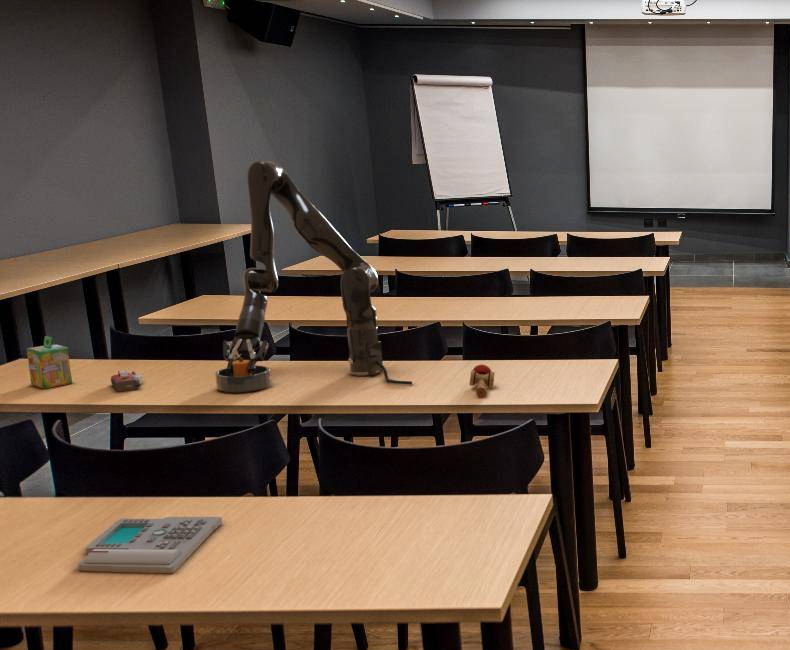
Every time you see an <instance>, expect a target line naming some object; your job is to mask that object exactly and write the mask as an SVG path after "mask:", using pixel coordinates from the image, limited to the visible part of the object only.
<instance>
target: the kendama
mask: <svg viewBox="0 0 790 650" xmlns="http://www.w3.org/2000/svg"><path fill="white" fill-rule="evenodd" d="M495 374H496V373H495V371H492V369H491V368H490V367H489V366H488V365H486V364H478V365H475V366H474V368H473V369H472V370H471V371H470V377H469V386H471V387H474V386H475V385H477V386H476V390H475V394H476V396H477V397H478V398H485V397H486V396H487V391H488V390H487V388H488V389H493V388H494V384H495V383H494V382H495Z"/></svg>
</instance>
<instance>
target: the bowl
mask: <svg viewBox="0 0 790 650" xmlns="http://www.w3.org/2000/svg"><path fill="white" fill-rule="evenodd" d="M214 377H215V385H216V386H215V387H216V389H217V390H218V391H221V392H225V393H228V394H229V393H230V394H242V393H243V394H245V393H251V392H256V391H260V390H263V389H265V388H268V387H269V386H271V385H272V377H271V369H270V367H269V366H266V365H260V364H259V365H257V364H256V365H255V369H254V371H253V372H252V375H249V376H239V377H234V375H233V373H230V372H229V371H228V369H227V367H225V368H222V369H219V370H217V371H216V372H215V373H214Z"/></svg>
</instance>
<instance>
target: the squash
mask: <svg viewBox="0 0 790 650" xmlns="http://www.w3.org/2000/svg"><path fill="white" fill-rule="evenodd" d="M248 364H249V359H244V357H241V356H240V357H239V358H238V359H237V360H236V361H234V362H232V365H233V375H234V377H239V376H249V375H252V373H249V372H248V371H247V368H248Z"/></svg>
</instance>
